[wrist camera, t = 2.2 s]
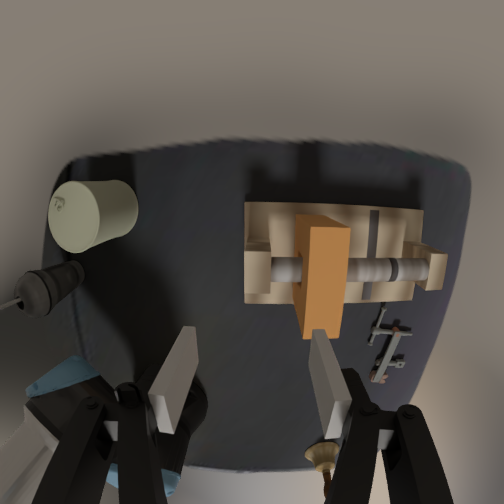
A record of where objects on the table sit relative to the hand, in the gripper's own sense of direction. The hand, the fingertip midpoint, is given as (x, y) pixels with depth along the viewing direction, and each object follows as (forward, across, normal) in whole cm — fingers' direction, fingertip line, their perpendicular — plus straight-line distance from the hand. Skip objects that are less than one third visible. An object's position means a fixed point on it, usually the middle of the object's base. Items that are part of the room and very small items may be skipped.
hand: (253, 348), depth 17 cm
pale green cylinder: (+25, -23, +7) cm, 35 cm away
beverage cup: (+25, -33, -4) cm, 42 cm away
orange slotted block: (+23, +7, 0) cm, 24 cm away
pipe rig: (+25, +12, 0) cm, 28 cm away
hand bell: (+25, +16, -48) cm, 56 cm away
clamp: (+26, +24, -17) cm, 39 cm away
